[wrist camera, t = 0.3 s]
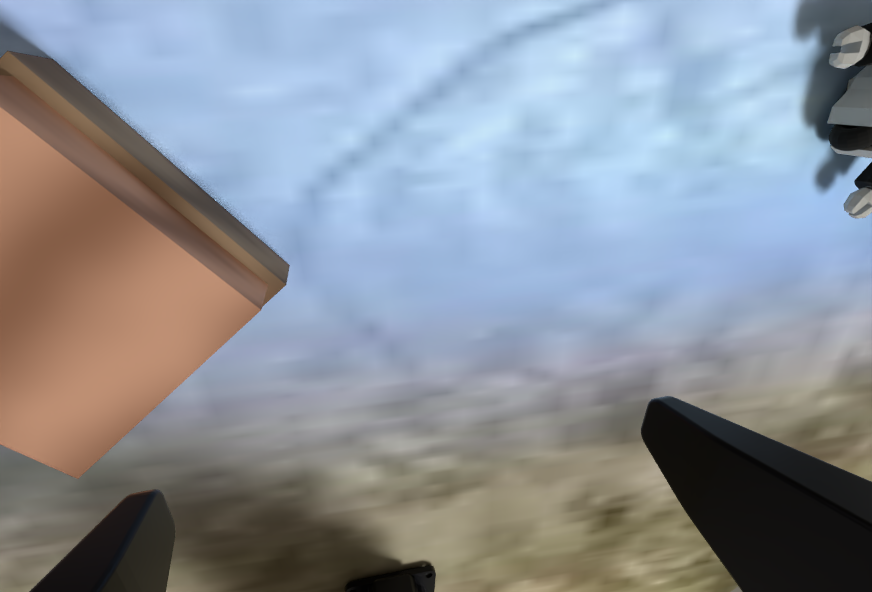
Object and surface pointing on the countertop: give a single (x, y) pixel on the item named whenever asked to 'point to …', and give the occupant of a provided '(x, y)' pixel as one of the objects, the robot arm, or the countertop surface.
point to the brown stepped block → (104, 270)
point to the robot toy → (855, 112)
